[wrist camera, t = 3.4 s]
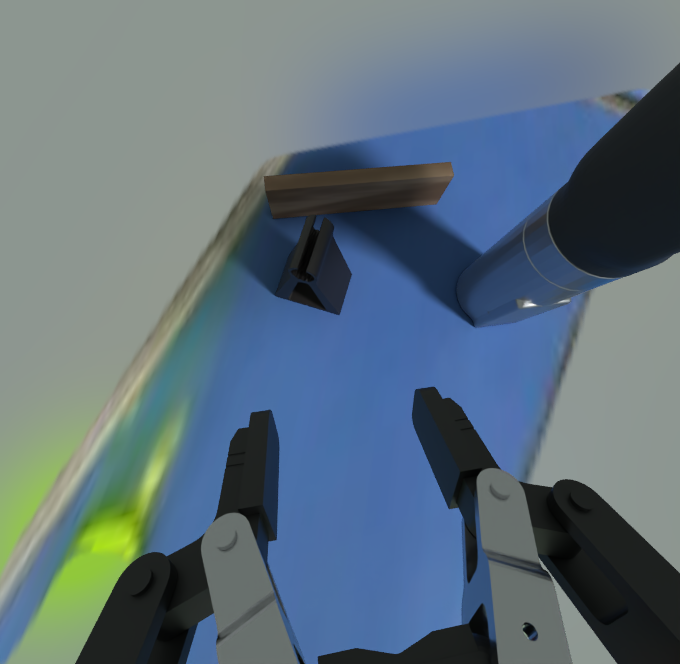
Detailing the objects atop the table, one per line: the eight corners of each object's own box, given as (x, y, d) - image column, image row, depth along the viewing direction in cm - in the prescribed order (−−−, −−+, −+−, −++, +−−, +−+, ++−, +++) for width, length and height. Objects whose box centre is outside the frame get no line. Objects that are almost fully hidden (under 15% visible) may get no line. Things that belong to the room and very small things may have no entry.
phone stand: (351, 275, 41) (363, 229, 30) (339, 315, 40) (346, 283, 28) (289, 256, 41) (276, 202, 30) (275, 296, 40) (256, 256, 28)
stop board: (436, 204, 44) (454, 175, 38) (273, 218, 42) (265, 190, 36) (433, 192, 45) (450, 162, 39) (271, 206, 43) (263, 176, 37)
